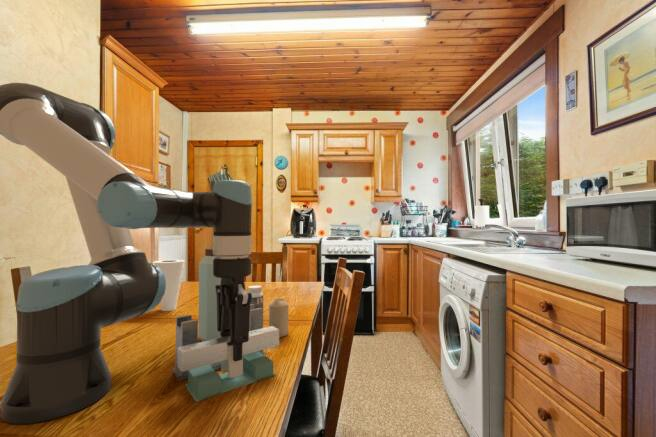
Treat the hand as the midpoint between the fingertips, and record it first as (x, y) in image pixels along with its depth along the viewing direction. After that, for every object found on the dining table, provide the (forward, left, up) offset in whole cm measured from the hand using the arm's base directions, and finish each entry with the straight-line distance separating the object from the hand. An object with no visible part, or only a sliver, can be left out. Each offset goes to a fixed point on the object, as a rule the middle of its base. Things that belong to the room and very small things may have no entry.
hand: (231, 371), depth 64 cm
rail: (0, 0, +3) cm, 3 cm away
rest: (0, 0, -2) cm, 2 cm away
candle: (+21, +18, -2) cm, 28 cm away
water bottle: (+6, +26, -2) cm, 27 cm away
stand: (+1, +9, -2) cm, 9 cm away
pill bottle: (+24, +40, -2) cm, 47 cm away
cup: (+2, +67, -2) cm, 67 cm away
